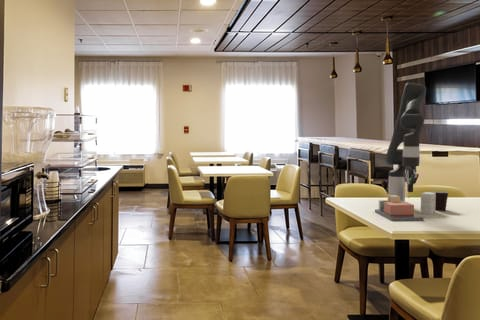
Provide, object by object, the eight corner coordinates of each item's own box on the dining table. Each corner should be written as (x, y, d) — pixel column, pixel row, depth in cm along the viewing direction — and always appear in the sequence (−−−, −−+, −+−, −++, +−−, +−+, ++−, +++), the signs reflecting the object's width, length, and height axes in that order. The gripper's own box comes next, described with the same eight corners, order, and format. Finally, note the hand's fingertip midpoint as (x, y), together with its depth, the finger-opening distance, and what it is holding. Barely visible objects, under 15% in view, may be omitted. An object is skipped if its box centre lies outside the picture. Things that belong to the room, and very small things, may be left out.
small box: (424, 210, 240) (425, 191, 239) (435, 212, 236) (436, 192, 236) (420, 212, 234) (420, 193, 233) (431, 214, 230) (431, 194, 229)
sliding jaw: (383, 211, 229) (383, 202, 229) (406, 211, 229) (406, 201, 229) (390, 215, 220) (390, 205, 219) (413, 214, 220) (414, 204, 220)
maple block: (387, 210, 234) (387, 195, 234) (395, 209, 234) (395, 195, 234) (390, 211, 229) (391, 196, 229) (399, 211, 229) (399, 196, 229)
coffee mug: (443, 211, 237) (443, 193, 236) (427, 209, 243) (428, 191, 243) (453, 209, 244) (453, 191, 243) (437, 207, 251) (438, 190, 250)
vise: (374, 212, 237) (375, 200, 236) (404, 211, 237) (404, 199, 237) (391, 220, 213) (391, 207, 213) (423, 220, 214) (423, 207, 213)
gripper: (425, 156, 202) (424, 194, 203) (413, 155, 215) (412, 189, 216) (409, 157, 202) (408, 194, 203) (397, 155, 215) (397, 190, 216)
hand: (410, 191), depth 210 cm, fingers closed
